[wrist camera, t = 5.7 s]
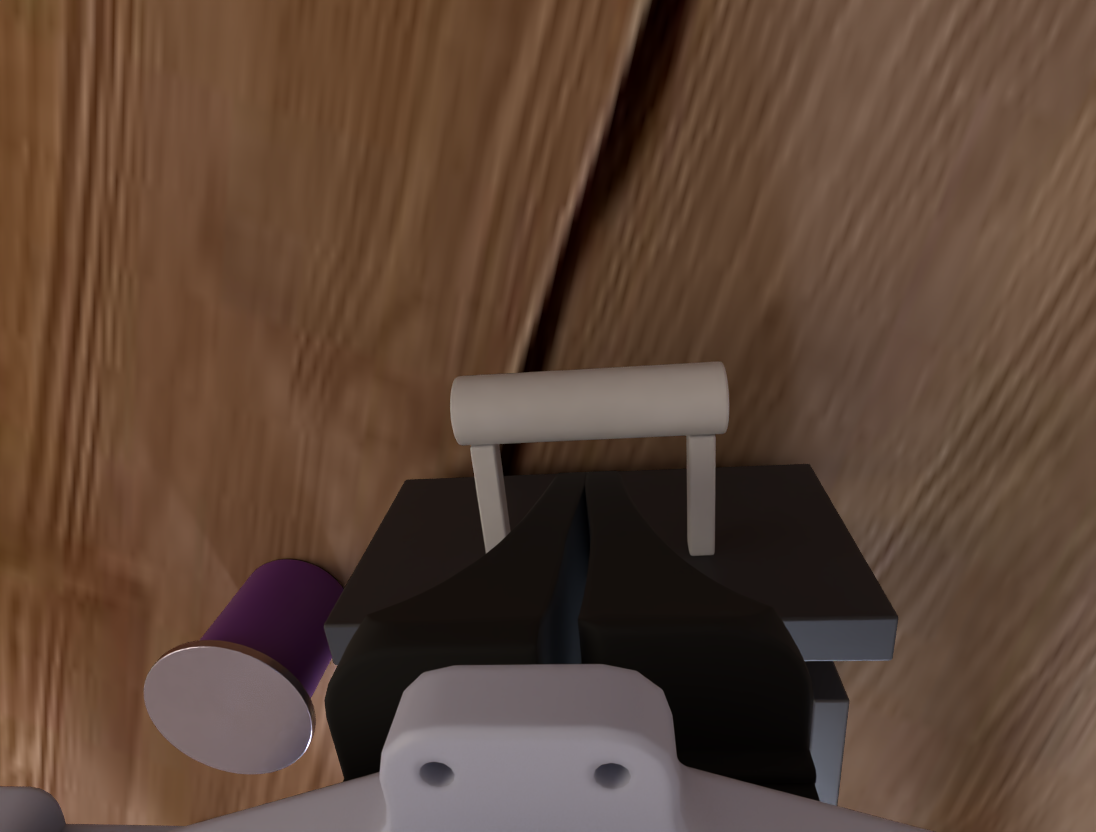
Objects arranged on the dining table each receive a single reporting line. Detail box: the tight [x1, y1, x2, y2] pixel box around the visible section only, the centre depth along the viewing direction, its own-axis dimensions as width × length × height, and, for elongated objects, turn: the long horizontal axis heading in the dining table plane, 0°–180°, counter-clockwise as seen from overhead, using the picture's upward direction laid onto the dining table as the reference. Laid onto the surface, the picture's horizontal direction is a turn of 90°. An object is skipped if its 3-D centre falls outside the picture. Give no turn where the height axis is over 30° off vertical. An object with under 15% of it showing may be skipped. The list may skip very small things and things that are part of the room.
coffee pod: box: [144, 559, 344, 774], centre depth 23 cm, size 5×5×5 cm
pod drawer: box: [324, 362, 898, 806], centre depth 19 cm, size 17×12×7 cm
